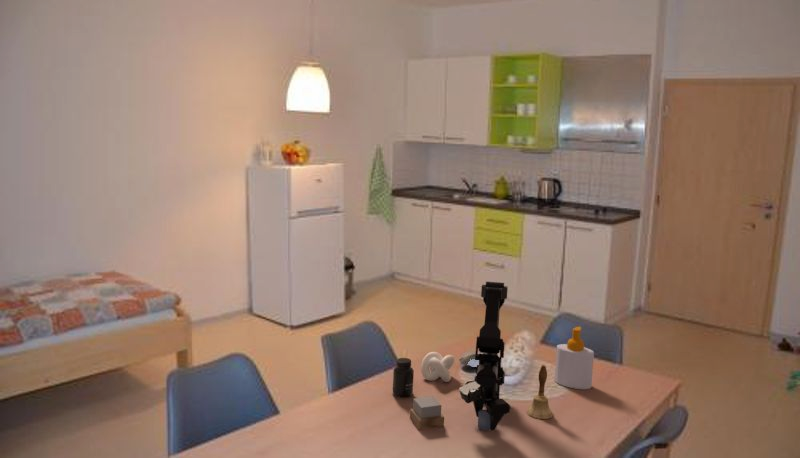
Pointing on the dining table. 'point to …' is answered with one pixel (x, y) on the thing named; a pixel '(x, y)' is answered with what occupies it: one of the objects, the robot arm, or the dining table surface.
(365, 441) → the dining table surface
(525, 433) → the dining table surface
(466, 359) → the seashell
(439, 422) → the walnut slab
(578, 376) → the soap bottle
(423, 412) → the grey slab
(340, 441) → the dining table surface
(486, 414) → the grey rounded cylinder
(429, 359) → the white knot sculpture
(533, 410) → the hand bell
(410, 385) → the supplement bottle
